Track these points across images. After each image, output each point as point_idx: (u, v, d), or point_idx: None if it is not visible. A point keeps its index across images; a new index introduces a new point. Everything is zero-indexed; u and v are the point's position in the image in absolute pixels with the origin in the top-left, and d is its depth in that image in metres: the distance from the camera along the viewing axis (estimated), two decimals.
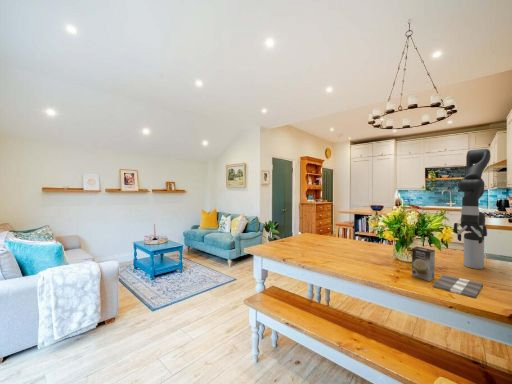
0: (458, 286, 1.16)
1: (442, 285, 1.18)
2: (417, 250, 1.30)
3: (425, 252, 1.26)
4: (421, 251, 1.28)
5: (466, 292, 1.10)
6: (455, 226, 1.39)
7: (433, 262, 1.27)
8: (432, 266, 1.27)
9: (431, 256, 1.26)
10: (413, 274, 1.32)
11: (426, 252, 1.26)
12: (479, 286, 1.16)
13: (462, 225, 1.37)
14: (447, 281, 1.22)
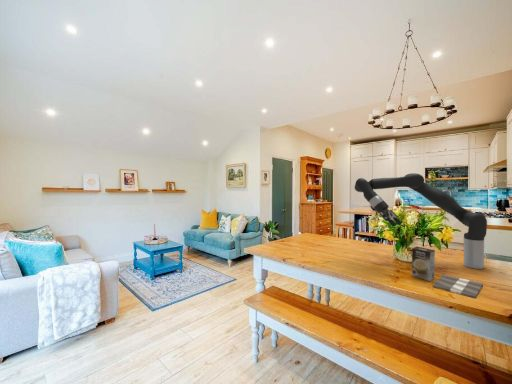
0: (458, 286, 1.16)
1: (442, 285, 1.18)
2: (417, 250, 1.30)
3: (425, 252, 1.26)
4: (421, 251, 1.28)
5: (466, 292, 1.10)
6: None
7: (433, 262, 1.27)
8: (432, 266, 1.27)
9: (431, 256, 1.26)
10: (413, 274, 1.32)
11: (426, 252, 1.26)
12: (479, 286, 1.16)
13: None
14: (447, 281, 1.22)
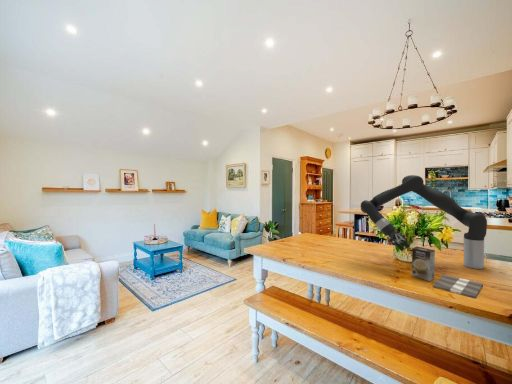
0: (458, 286, 1.16)
1: (442, 285, 1.18)
2: (417, 250, 1.30)
3: (425, 252, 1.26)
4: (421, 251, 1.28)
5: (466, 292, 1.10)
6: None
7: (433, 262, 1.27)
8: (432, 266, 1.27)
9: (431, 256, 1.26)
10: (413, 274, 1.32)
11: (426, 252, 1.26)
12: (479, 286, 1.16)
13: None
14: (447, 281, 1.22)
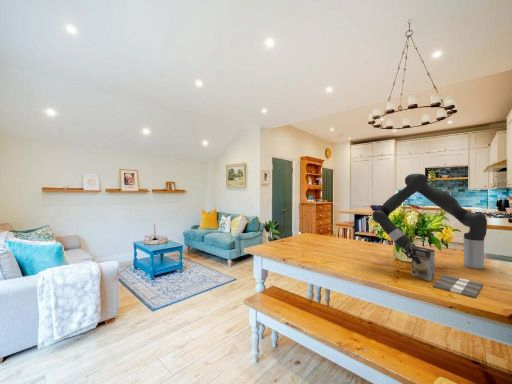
0: (458, 286, 1.16)
1: (442, 285, 1.18)
2: (417, 250, 1.30)
3: (425, 252, 1.26)
4: (421, 251, 1.28)
5: (466, 292, 1.10)
6: None
7: (433, 262, 1.27)
8: (432, 266, 1.27)
9: (431, 256, 1.26)
10: (413, 274, 1.32)
11: (426, 252, 1.26)
12: (479, 286, 1.16)
13: None
14: (447, 281, 1.22)
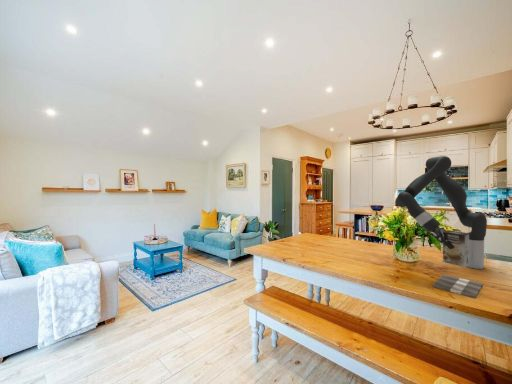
0: (458, 286, 1.16)
1: (442, 285, 1.18)
2: (449, 234, 1.18)
3: (459, 235, 1.15)
4: (454, 234, 1.17)
5: (466, 292, 1.10)
6: None
7: (467, 246, 1.16)
8: (467, 250, 1.15)
9: (466, 239, 1.14)
10: (444, 260, 1.21)
11: (460, 235, 1.15)
12: (479, 286, 1.16)
13: None
14: (447, 281, 1.22)
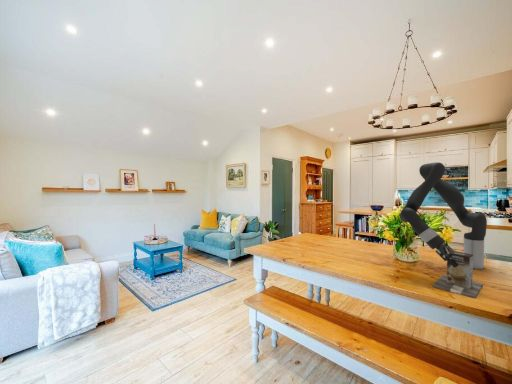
0: (458, 286, 1.16)
1: (442, 285, 1.18)
2: (453, 255, 1.17)
3: (463, 257, 1.14)
4: (458, 256, 1.16)
5: (466, 292, 1.10)
6: None
7: (472, 268, 1.15)
8: (471, 272, 1.15)
9: (470, 261, 1.13)
10: (448, 281, 1.20)
11: (465, 257, 1.14)
12: (479, 286, 1.16)
13: None
14: None
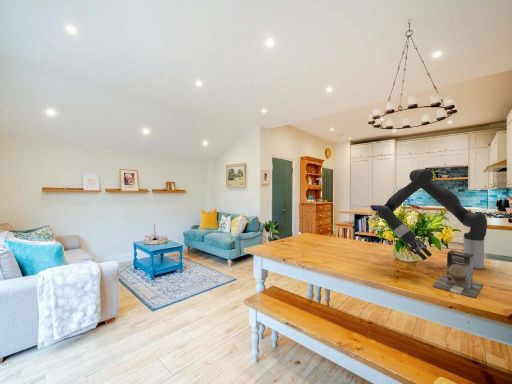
0: (458, 286, 1.16)
1: (442, 285, 1.18)
2: (453, 255, 1.17)
3: (463, 257, 1.14)
4: (458, 256, 1.16)
5: (466, 292, 1.10)
6: None
7: (472, 268, 1.15)
8: (471, 272, 1.15)
9: (470, 261, 1.13)
10: (448, 281, 1.20)
11: (465, 257, 1.14)
12: (479, 286, 1.16)
13: None
14: None
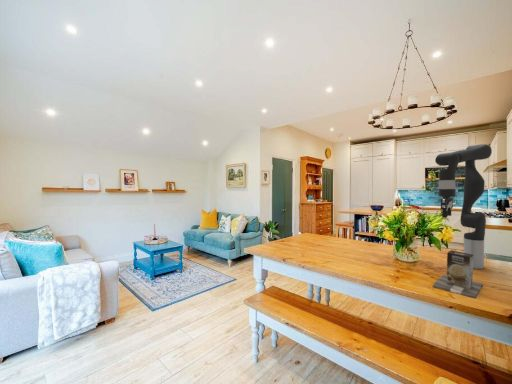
0: (458, 286, 1.16)
1: (442, 285, 1.18)
2: (453, 255, 1.17)
3: (463, 257, 1.14)
4: (458, 256, 1.16)
5: (466, 292, 1.10)
6: None
7: (472, 268, 1.15)
8: (471, 272, 1.15)
9: (470, 261, 1.13)
10: (448, 281, 1.20)
11: (465, 257, 1.14)
12: (479, 286, 1.16)
13: None
14: None
